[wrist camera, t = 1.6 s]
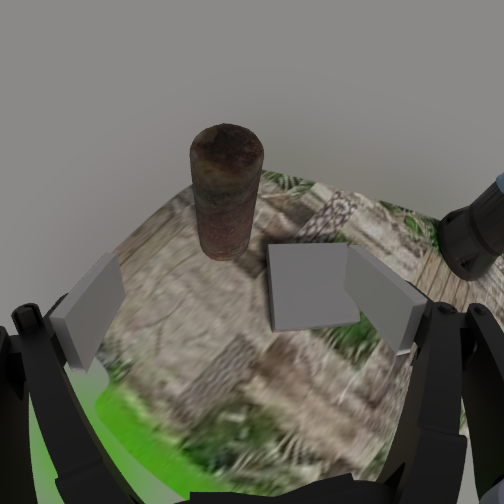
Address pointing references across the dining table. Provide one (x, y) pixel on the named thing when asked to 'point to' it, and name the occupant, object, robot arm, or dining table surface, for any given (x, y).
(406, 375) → the dining table surface
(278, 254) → the stand
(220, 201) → the candle
